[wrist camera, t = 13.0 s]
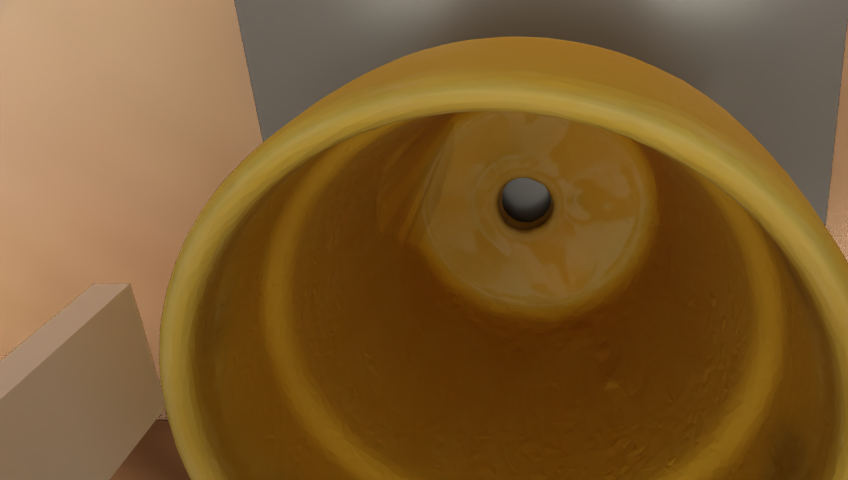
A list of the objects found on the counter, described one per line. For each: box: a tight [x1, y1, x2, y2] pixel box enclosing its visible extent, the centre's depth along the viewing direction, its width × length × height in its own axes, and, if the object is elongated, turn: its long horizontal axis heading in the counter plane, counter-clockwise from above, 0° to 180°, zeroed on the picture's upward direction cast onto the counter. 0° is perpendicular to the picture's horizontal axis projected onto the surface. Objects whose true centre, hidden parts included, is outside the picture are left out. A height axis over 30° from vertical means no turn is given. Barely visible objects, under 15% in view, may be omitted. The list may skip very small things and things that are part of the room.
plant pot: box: [159, 37, 848, 480], centre depth 15 cm, size 10×10×10 cm
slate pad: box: [234, 0, 848, 226], centre depth 20 cm, size 14×14×1 cm
